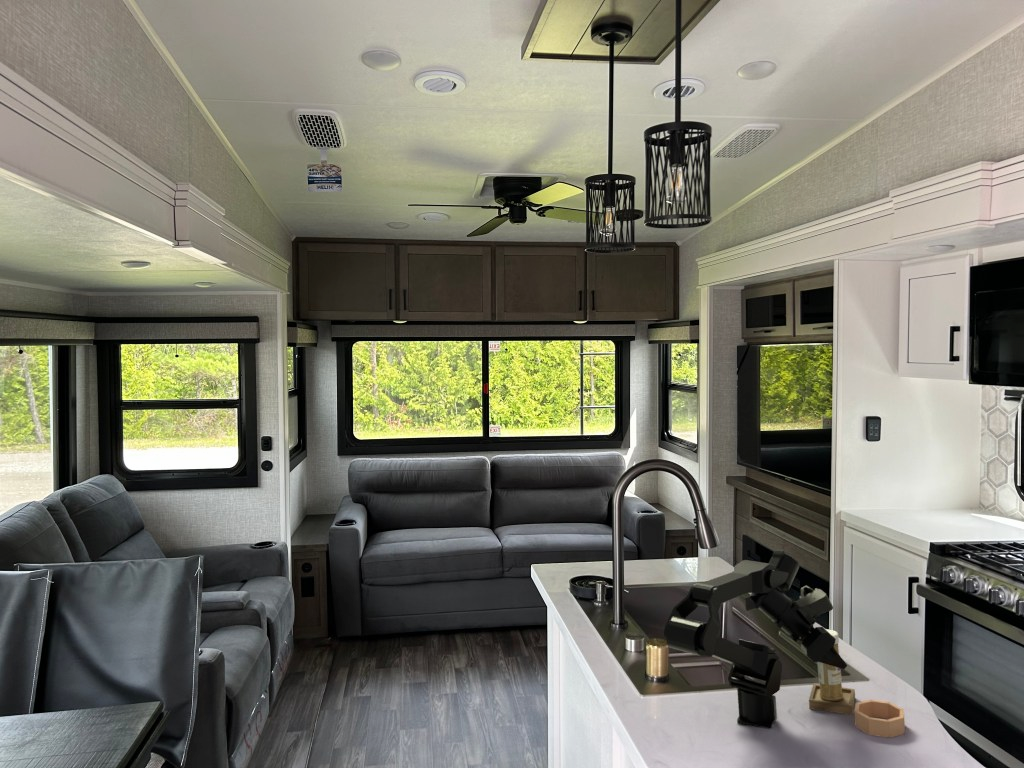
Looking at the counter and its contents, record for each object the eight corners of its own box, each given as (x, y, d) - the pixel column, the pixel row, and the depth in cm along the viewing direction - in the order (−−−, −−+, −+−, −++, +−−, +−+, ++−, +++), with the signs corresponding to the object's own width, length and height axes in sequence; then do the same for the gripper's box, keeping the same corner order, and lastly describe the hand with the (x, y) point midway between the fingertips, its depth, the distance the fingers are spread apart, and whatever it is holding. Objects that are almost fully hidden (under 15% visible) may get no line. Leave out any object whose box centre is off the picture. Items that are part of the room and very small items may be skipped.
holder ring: (854, 732, 141) (853, 716, 141) (857, 712, 149) (856, 697, 149) (904, 739, 137) (903, 723, 137) (904, 719, 145) (903, 704, 145)
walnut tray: (809, 708, 152) (808, 699, 152) (813, 692, 159) (813, 683, 159) (852, 714, 148) (852, 705, 148) (855, 697, 155) (854, 689, 155)
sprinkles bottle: (842, 703, 150) (836, 636, 150) (817, 700, 153) (812, 634, 153) (844, 694, 154) (839, 629, 154) (821, 691, 157) (815, 627, 157)
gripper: (821, 592, 144) (883, 646, 143) (790, 566, 162) (845, 614, 162) (782, 635, 144) (844, 688, 144) (756, 604, 163) (810, 651, 163)
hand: (836, 658), depth 153 cm, fingers open, 9 cm apart
